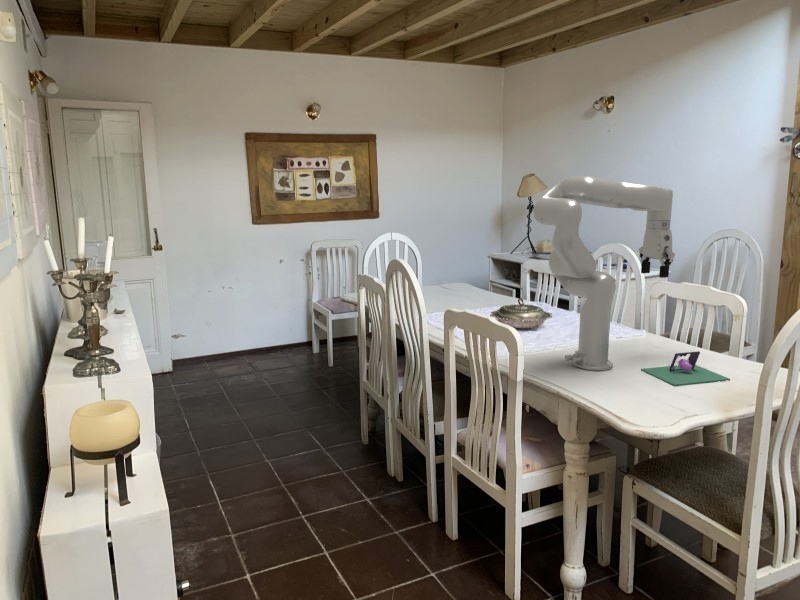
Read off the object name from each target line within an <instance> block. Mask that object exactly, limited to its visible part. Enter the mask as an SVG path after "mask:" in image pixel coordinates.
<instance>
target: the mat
mask: <svg viewBox="0 0 800 600" xmlns="http://www.w3.org/2000/svg"><path fill="white" fill-rule="evenodd" d="M670 366H671V365H667V366H657V367H647V368H646V367H645V368H640V371H641V372H643V373H645V374H648V375H650V376H652V377H654V378H655V379H658V380H660V381H662V382H663V383H664V382H665V383H667V384H669V385H670V386H673V387H682V386H690V385H691V386H692V385H701V384H710V382H711V383H719V382H718V381H720V382H727V381H726V380H729V381H731V378H729V377H727V376H724V375H722V374H719V373H717V372H714V371H711V370H709V369H707V368H705V367H702V366H700V365H697V364H695V367H694V369H691V370H692V371H693V374H692V373H691V371H684V370H676V371H669V369H670ZM674 367H675V368H674V369H681V368H680V367H679V364H674ZM671 370H673V369H671ZM700 383H701V384H700Z"/></svg>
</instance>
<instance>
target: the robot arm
mask: <svg viewBox="0 0 800 600" xmlns="http://www.w3.org/2000/svg"><path fill="white" fill-rule="evenodd" d="M673 197H674V192H673V190H672V189H671V188H666V187H665V188H663V187H659V186H653V185H646V184H638V183H634V182H633V183H631V182H627V181H621V180H620V181H619V180H613V179H607V178H601V177H598V176H597V177H596V176H590V175H574V176H573V175H571V176H566V177H564V178H562V179H561V180H559V181H558V182H557V183H556V184H555V185H553V186H552V187H551V188H550V189H548V191H546V192H545V193H544V194H543V195H542V196H541V197H539V199H538V200H536V202H535V204H534V207H533V208H532V209H533V210H532V214H533V218H534V220H535V221H536V222H537V223H539V224H541V225H545V226H553V227H554V226H555V228H554V232H553V236H552V242H551V245H552V248H553V250H552V251H551V252H550V254H549V256H548V266H549V270H550V272H551V273H552V275H553V276H554V277H555V278H556V280H557V281H558V282H559V284H560V285H561V287H562V288H563V289H564V290H565V292H567V293H568V294H570V295H571V296H575V297H579V298H583V299H585V301H584V303H583V305H582V307H581V309H580V313H579V327H578V328H579V331H578V347H577V349H578V350H575V351H574V353H572V354H565V355H564V360H565V362H567V361H569V362H570V361H572V365H573V366H575V367H576V368H579V369H582V370H587V371H606V370H611V368H613V362H612V361H611V360H609V347H610V328H611V316H612V315H611V313H612V306H613V301H614V297H615V294H616V289H617V287H616V286H617V283H616V280H615V279H614V277H613V276H612V275H611V274H609V273H608V272H604V271H600V270H597V262H596V260H595V257H594V255H593V254H592V253H591V252H590V250H589V249H588V247H587V246H586V245H585V243H584V241H582V239H581V237H580V234H579V230H580V224H581V220H582V216H583V210H582V206H581V204H584V205H591V206H598V207H599V206H600V207H605V208H611V209H630V210H632V211H637V212H646V226H645V231H644V235H643V243H642V246H641V247H639V248H638V252H639V257H640V262H641V265H640V267H641V268H640V269H641V270H640V273H641V274H649V273H651V261H650V260H651V259H653V260H659V262H660V264H661V265H660V266H659V276H658V277H659V279H660V278H669V274H670V266H671V265H672V263H673V261H674V259H675V256H676V254H675V252H674V251H673V234H672V233H673V232H672V229H671V222H672V210H673Z"/></svg>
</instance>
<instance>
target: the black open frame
mask: <svg viewBox="0 0 800 600" xmlns="http://www.w3.org/2000/svg"><path fill="white" fill-rule="evenodd" d="M700 354H701V352H700V351H699V350H698V351H687V352H678V353H677V352H676V353H675V354H674V356H673V359H672V361H671V363H670V365H669V366H670V369H669V371H676V370H684V371H691V373H692V374H693V371H692V370H691V369H694V367H695V365H697V361H698V358H699V356H700ZM687 355H689V357H688V359H685V358H681V357H686V356H687ZM678 358H681V359H679V360H677V359H678ZM676 361H677V362H676ZM675 363H676V364H678V365H679V367H680V368H681V369H674V368H675V367H674V366H675V365H676V364H675ZM671 369H673V370H671Z"/></svg>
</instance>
